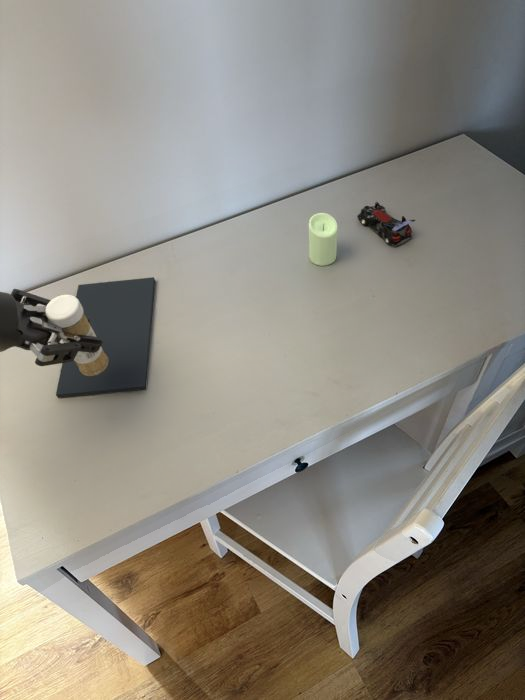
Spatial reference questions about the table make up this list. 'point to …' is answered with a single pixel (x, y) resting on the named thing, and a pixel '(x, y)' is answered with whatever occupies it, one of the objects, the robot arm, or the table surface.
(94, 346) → the robot arm
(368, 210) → the toy car
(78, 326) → the sprinkles bottle
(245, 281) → the table surface
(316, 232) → the candle
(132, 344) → the mat
